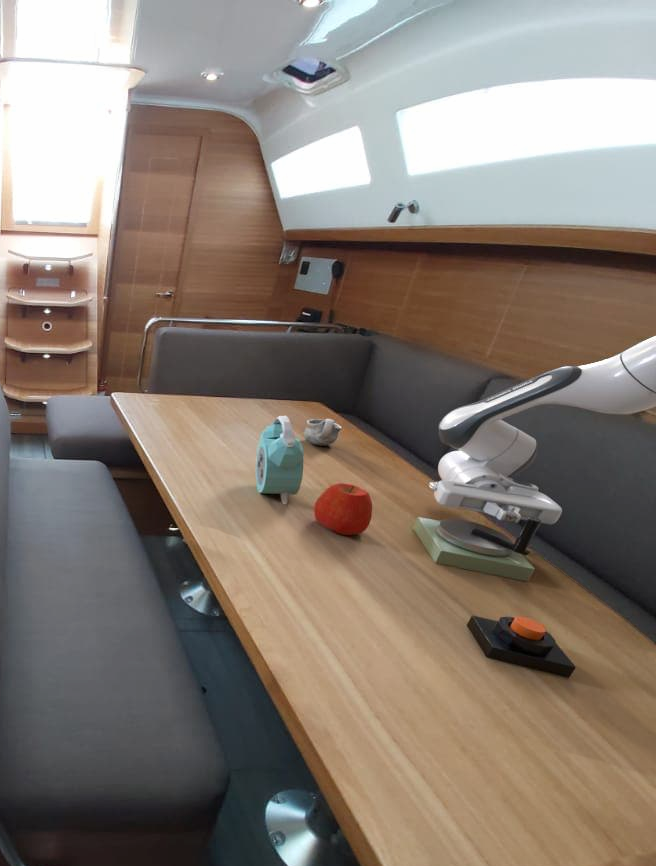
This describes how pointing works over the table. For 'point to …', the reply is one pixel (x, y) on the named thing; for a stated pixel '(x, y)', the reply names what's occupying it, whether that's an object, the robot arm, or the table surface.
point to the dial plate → (470, 555)
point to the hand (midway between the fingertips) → (510, 518)
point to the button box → (519, 646)
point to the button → (528, 628)
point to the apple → (344, 509)
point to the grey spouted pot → (321, 431)
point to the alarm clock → (279, 460)
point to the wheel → (486, 537)
